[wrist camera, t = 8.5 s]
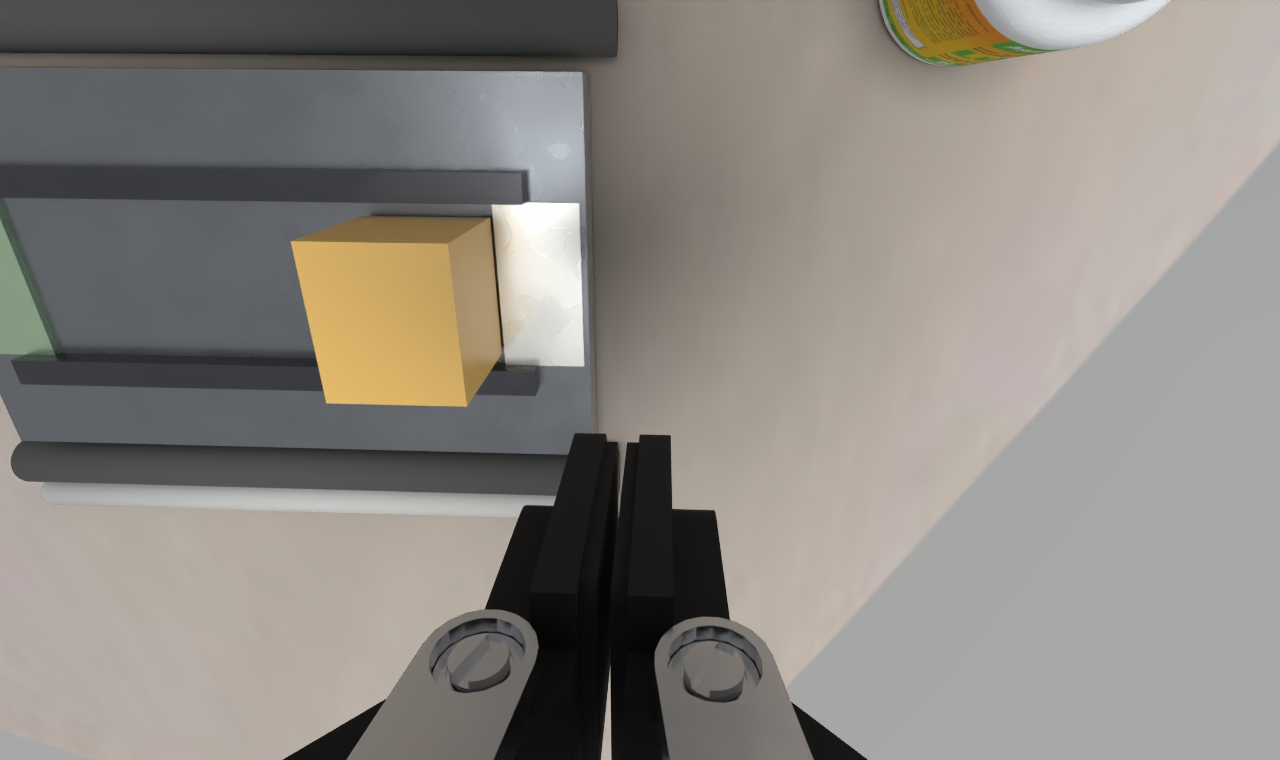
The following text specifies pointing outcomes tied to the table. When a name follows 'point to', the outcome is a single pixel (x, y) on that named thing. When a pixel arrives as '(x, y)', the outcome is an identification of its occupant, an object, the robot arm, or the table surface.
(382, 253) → the toggle
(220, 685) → the table surface
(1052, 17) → the supplement bottle
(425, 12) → the pair of dark bars
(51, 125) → the railed metal tray
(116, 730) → the table surface
